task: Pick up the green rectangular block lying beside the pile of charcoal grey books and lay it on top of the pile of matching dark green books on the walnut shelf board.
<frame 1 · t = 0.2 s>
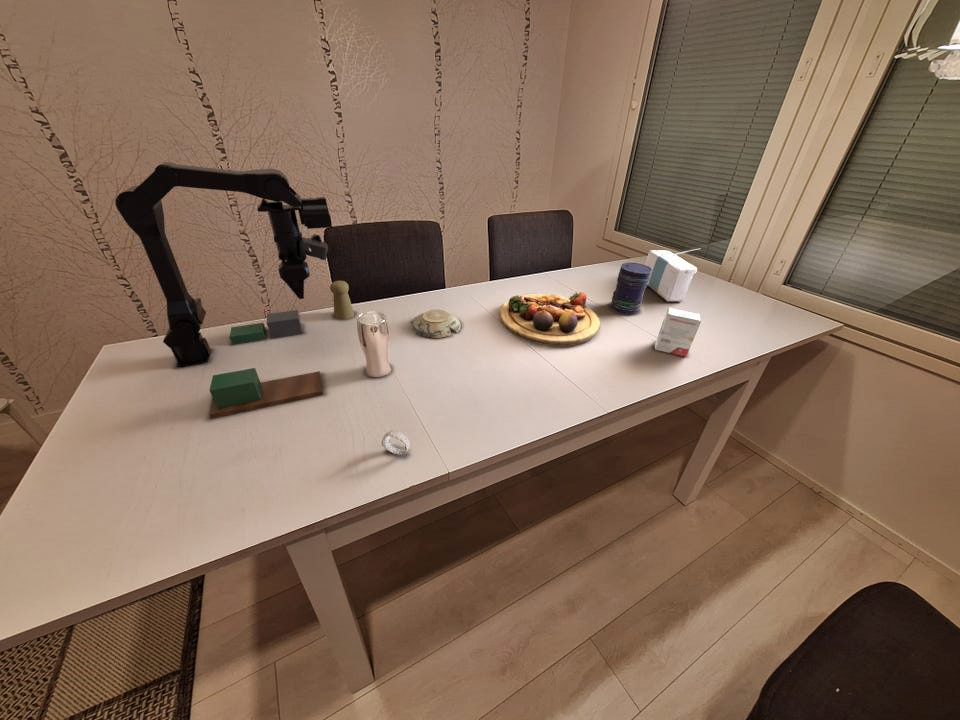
hand: (300, 291, 96), 14 cm above the table, tool pointing down, fingers open, 9 cm apart
green book 1: (240, 396, 81), point 1 cm above the table, touching green book 2, shelf board
shelf board: (270, 395, 84), on the table
decorative bowl: (436, 326, 113), on the table
grey book 1: (287, 331, 107), on the table, touching grey book 2
wooden plate: (548, 321, 119), on the table
grey book 2: (285, 323, 105), point 2 cm above the table, touching grey book 1
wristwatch: (397, 452, 72), on the table
ink box: (669, 350, 108), on the table
beer glass: (378, 371, 93), on the table
radio: (660, 292, 144), on the table
olive green pawn: (344, 315, 116), on the table
storage jar: (624, 309, 130), on the table
green rectangular block: (249, 337, 103), on the table
green book 2: (237, 387, 80), point 4 cm above the table, touching green book 1
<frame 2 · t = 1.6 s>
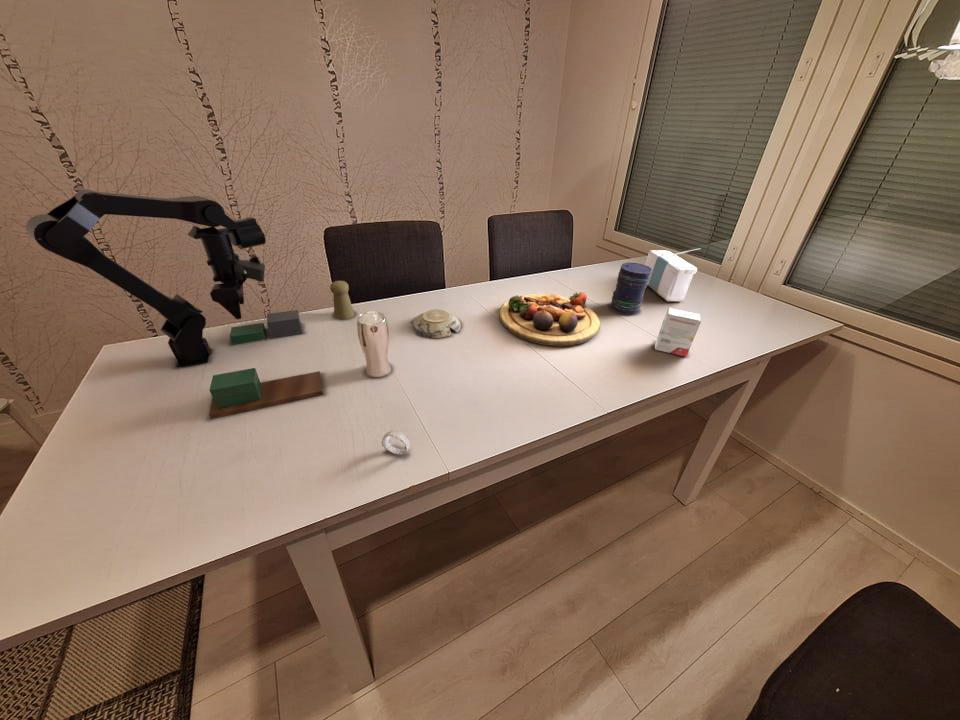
hand: (240, 311, 98), 8 cm above the table, tool pointing down, fingers open, 9 cm apart
nothing on the table moved.
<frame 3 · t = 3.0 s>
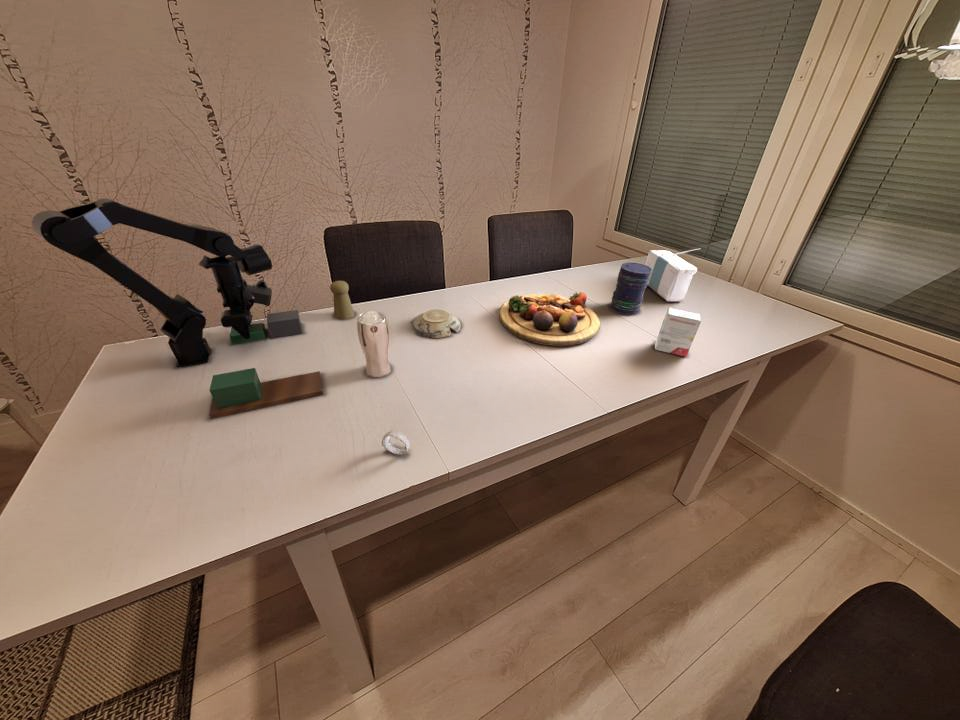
hand: (248, 333, 102), 1 cm above the table, tool pointing down, fingers closed on green rectangular block, 5 cm apart
green rectangular block: (249, 337, 103), on the table, touching gripper
everything else where it was.
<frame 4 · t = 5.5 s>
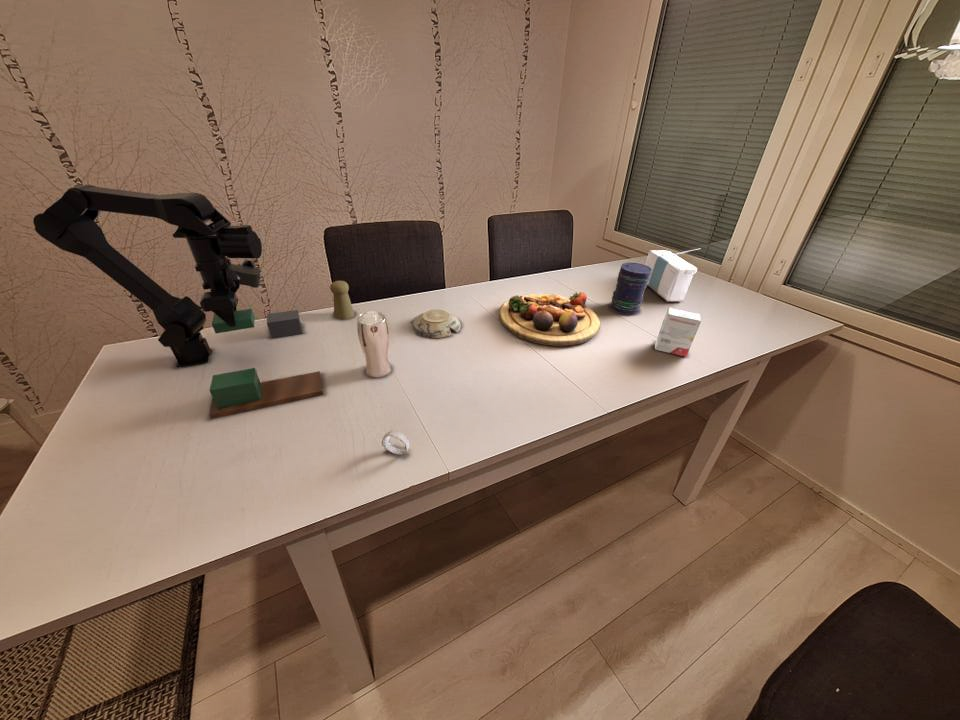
hand: (233, 320, 89), 11 cm above the table, tool pointing down, fingers closed on green rectangular block, 5 cm apart
green rectangular block: (235, 325, 90), point 10 cm above the table, touching gripper
everything else where it was.
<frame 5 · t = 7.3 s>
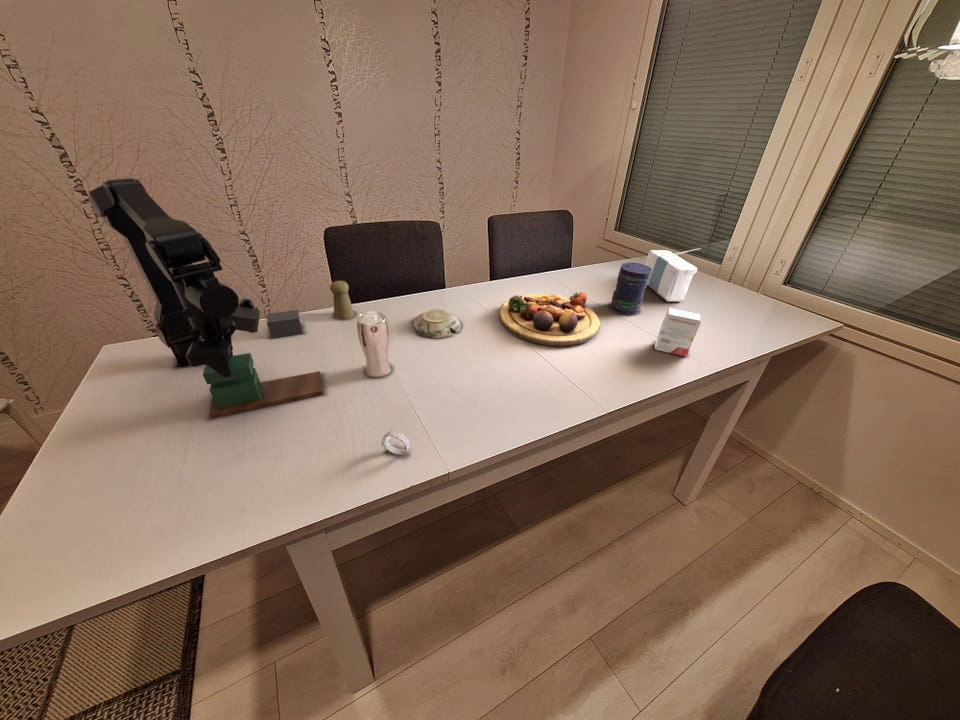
hand: (229, 368, 77), 9 cm above the table, tool pointing down, fingers closed on green rectangular block, 5 cm apart
green rectangular block: (231, 373, 77), point 8 cm above the table, touching gripper
everything else where it was.
when the fingers open (7 cm above the table, at t = 8.2 s): green rectangular block stays where it is, resting on green book 2.
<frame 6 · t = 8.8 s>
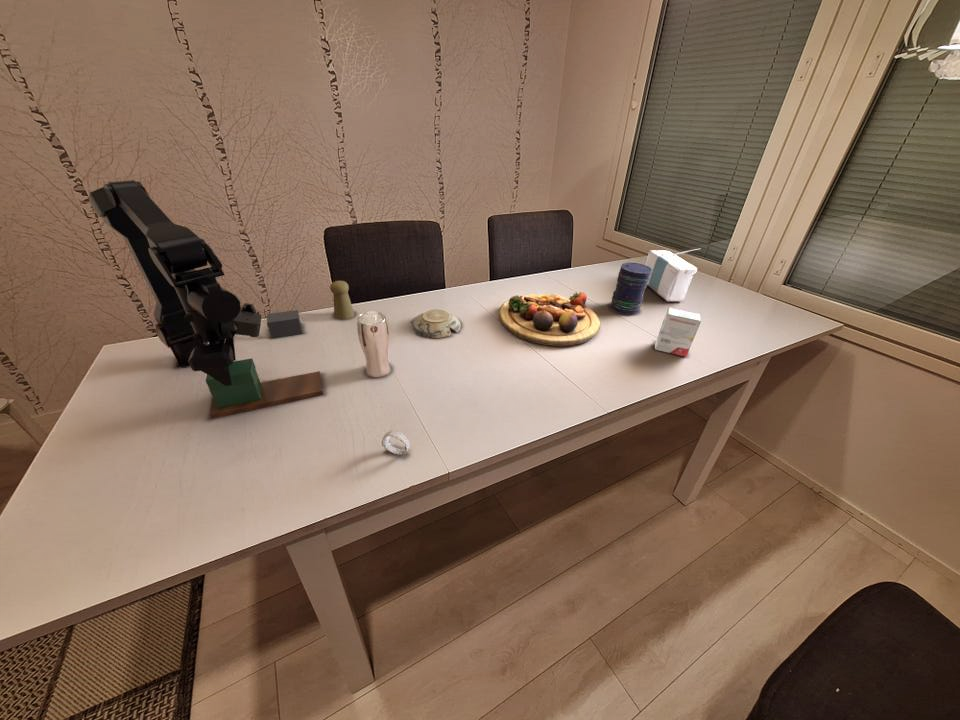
hand: (230, 372, 77), 8 cm above the table, tool pointing down, fingers open, 9 cm apart
green rectangular block: (233, 378, 78), point 6 cm above the table, touching green book 2
green book 2: (237, 387, 80), point 4 cm above the table, touching green book 1, green rectangular block
everything else where it was.
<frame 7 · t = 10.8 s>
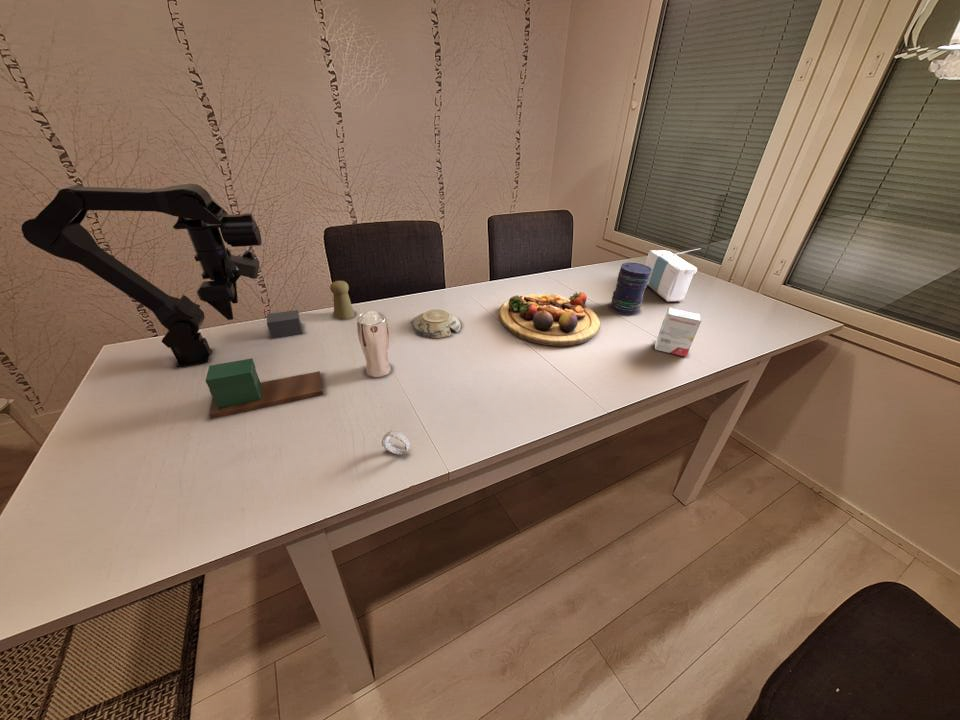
hand: (233, 311, 90), 12 cm above the table, tool pointing down, fingers open, 9 cm apart
nothing on the table moved.
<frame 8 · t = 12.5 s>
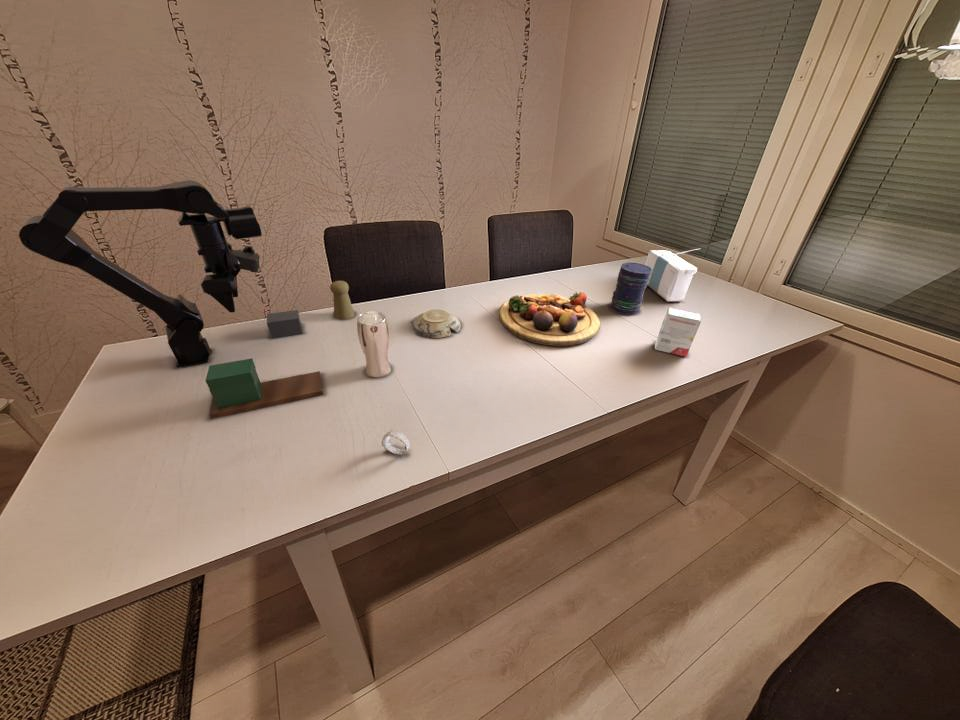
hand: (234, 304, 93), 12 cm above the table, tool pointing down, fingers open, 9 cm apart
nothing on the table moved.
at the end: green rectangular block 0.1 cm off-centre on the green book 1, point 5.0 cm above the green book 1's base; green rectangular block tilted 0°; the gripper is holding nothing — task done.
